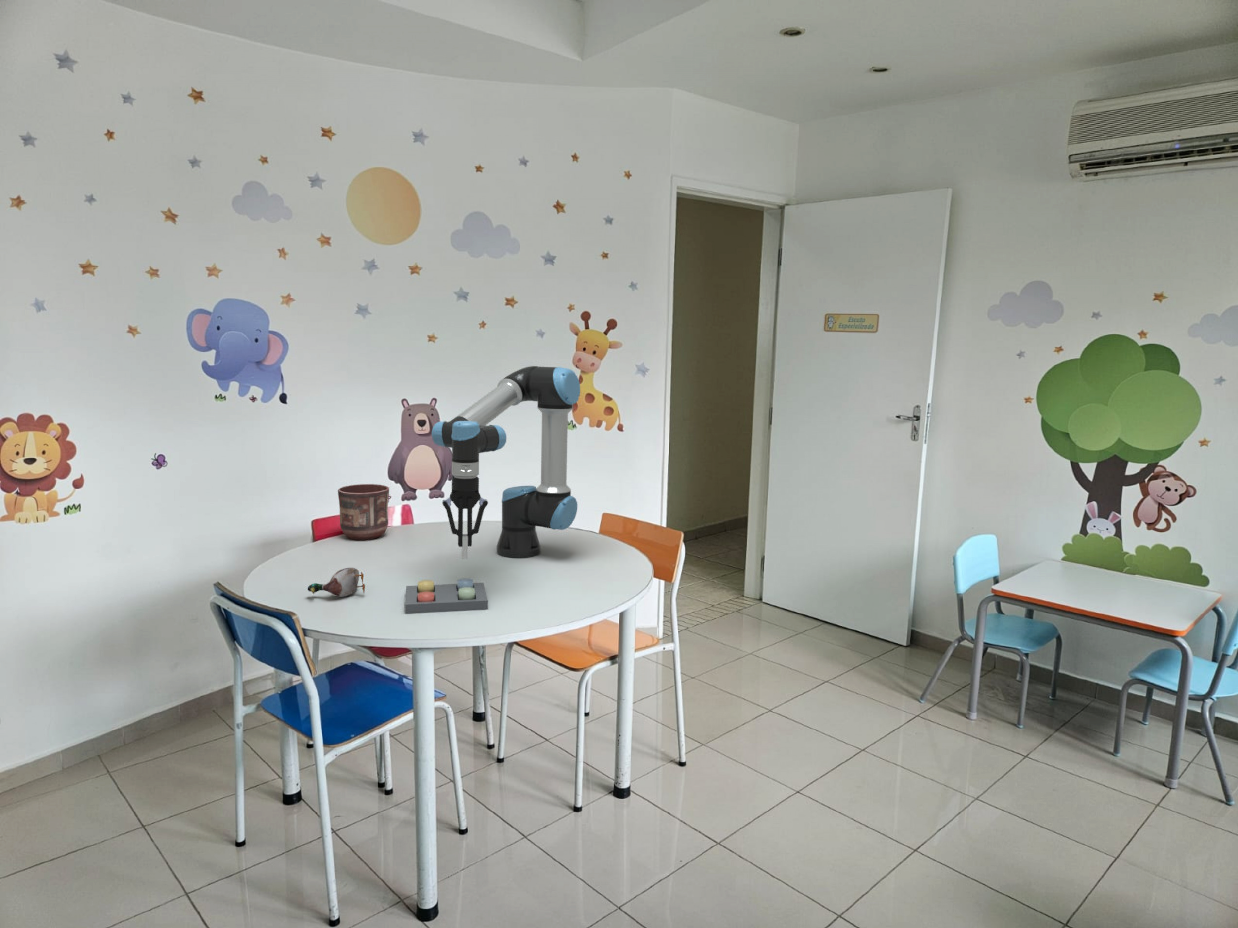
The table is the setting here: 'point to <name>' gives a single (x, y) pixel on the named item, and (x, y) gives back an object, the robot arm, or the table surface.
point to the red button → (425, 596)
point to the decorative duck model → (340, 583)
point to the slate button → (464, 583)
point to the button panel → (445, 599)
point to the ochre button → (425, 586)
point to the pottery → (363, 510)
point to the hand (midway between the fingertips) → (464, 557)
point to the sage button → (466, 593)
